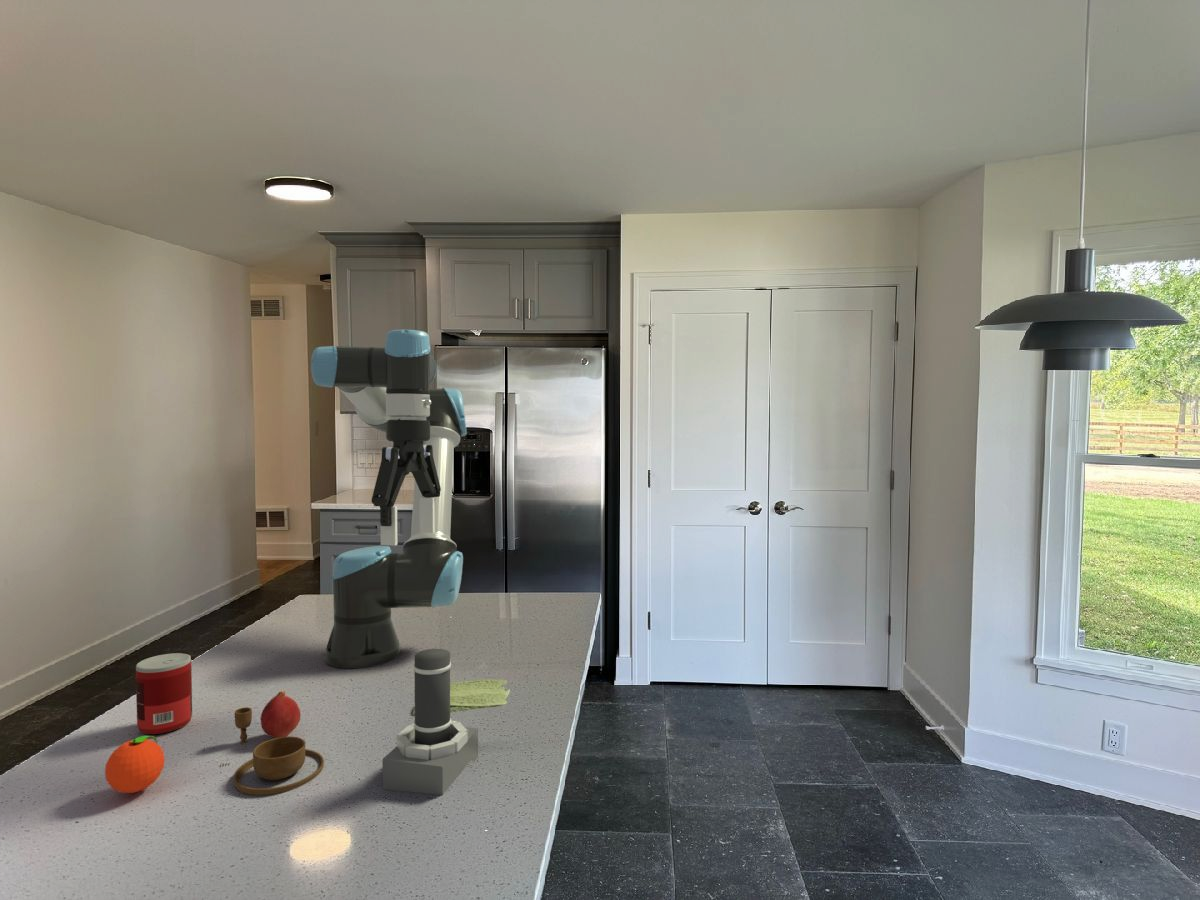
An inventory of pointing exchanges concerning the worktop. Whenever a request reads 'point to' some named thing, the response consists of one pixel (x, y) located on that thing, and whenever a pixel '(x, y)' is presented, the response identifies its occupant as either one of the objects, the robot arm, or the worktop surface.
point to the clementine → (134, 765)
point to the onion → (280, 716)
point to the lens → (432, 696)
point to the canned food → (164, 693)
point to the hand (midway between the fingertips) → (409, 538)
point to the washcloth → (476, 694)
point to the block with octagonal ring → (429, 761)
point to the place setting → (273, 759)
